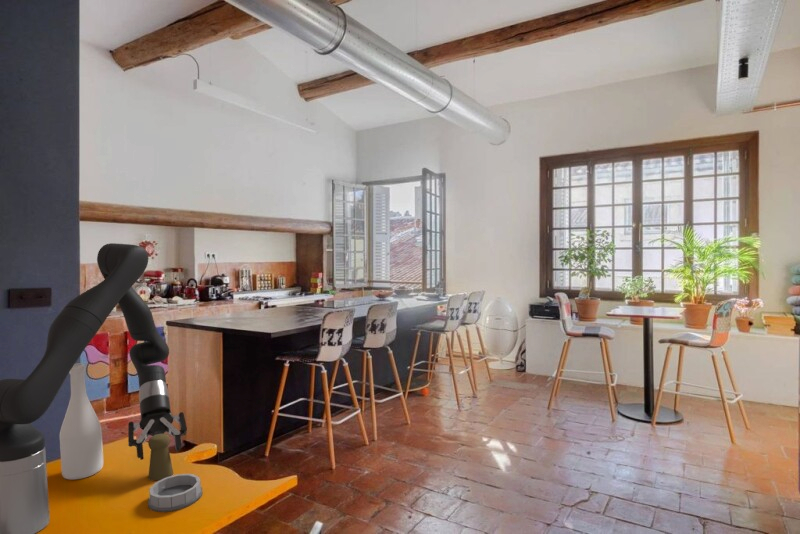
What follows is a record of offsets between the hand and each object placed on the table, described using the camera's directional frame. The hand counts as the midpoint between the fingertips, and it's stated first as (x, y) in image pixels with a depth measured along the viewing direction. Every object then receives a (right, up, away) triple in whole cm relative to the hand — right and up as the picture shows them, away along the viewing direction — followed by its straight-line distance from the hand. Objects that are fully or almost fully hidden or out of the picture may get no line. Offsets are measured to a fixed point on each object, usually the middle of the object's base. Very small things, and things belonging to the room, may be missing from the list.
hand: (160, 454), depth 127 cm
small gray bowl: (+9, -7, -11) cm, 16 cm away
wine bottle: (-23, -7, +4) cm, 24 cm away
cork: (0, -6, +1) cm, 6 cm away
